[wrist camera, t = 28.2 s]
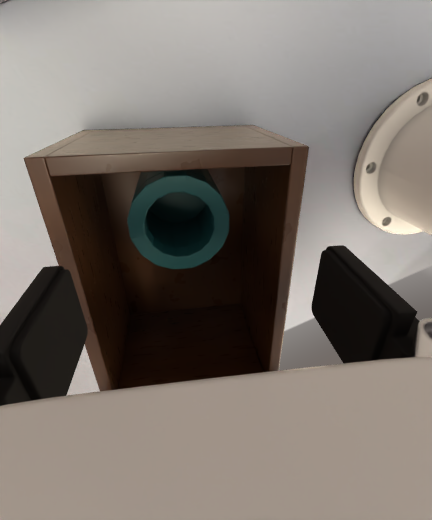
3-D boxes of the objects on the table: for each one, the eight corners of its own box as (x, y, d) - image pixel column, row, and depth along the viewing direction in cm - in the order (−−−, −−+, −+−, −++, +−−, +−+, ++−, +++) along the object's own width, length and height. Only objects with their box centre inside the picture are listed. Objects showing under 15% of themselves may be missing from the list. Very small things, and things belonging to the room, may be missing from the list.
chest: (82, 130, 20) (22, 157, 12) (253, 124, 22) (309, 145, 13) (123, 316, 28) (106, 410, 20) (245, 303, 30) (277, 386, 22)
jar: (211, 149, 21) (230, 172, 15) (213, 221, 24) (229, 265, 18) (132, 153, 21) (119, 178, 15) (143, 226, 23) (136, 273, 17)
